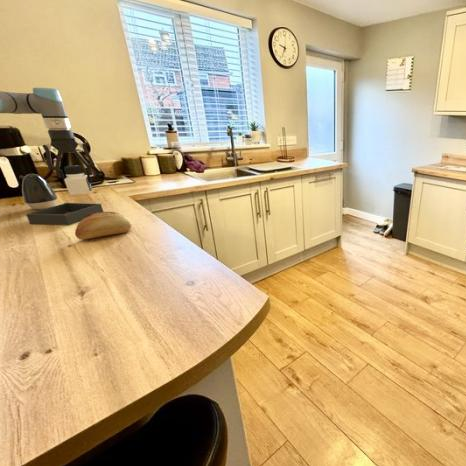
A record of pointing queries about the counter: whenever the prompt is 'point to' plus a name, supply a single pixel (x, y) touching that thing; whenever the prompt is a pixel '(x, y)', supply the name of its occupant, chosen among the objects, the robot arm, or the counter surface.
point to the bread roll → (101, 225)
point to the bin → (55, 213)
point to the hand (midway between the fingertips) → (78, 183)
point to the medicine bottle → (77, 180)
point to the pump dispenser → (37, 192)
